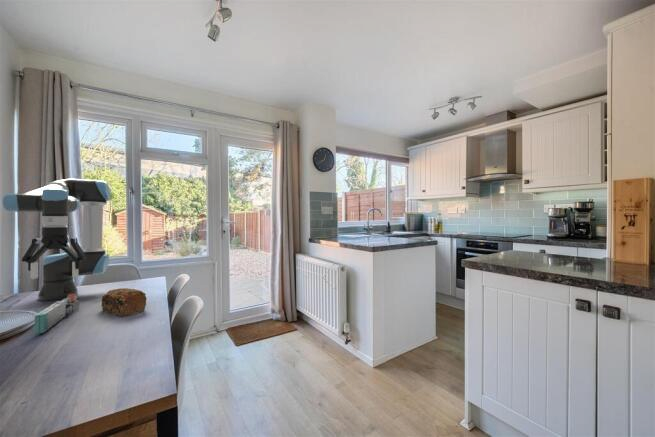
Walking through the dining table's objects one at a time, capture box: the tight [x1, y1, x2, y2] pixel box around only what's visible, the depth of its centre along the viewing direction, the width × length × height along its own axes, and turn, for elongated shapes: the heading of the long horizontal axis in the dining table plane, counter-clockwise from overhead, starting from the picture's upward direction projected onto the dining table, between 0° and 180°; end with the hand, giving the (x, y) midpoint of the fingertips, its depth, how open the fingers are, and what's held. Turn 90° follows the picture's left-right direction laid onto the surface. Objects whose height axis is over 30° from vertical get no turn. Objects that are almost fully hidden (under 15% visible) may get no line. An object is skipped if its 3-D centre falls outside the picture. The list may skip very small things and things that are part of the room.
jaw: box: [40, 298, 71, 334], centre depth 108 cm, size 23×2×7 cm, turn 27°
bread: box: [101, 287, 147, 317], centre depth 123 cm, size 19×11×10 cm, turn 61°
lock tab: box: [67, 294, 77, 301], centre depth 123 cm, size 3×3×3 cm
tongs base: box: [34, 299, 80, 337], centre depth 111 cm, size 31×4×7 cm, turn 28°
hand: (55, 277), depth 110 cm, fingers open, 13 cm apart
